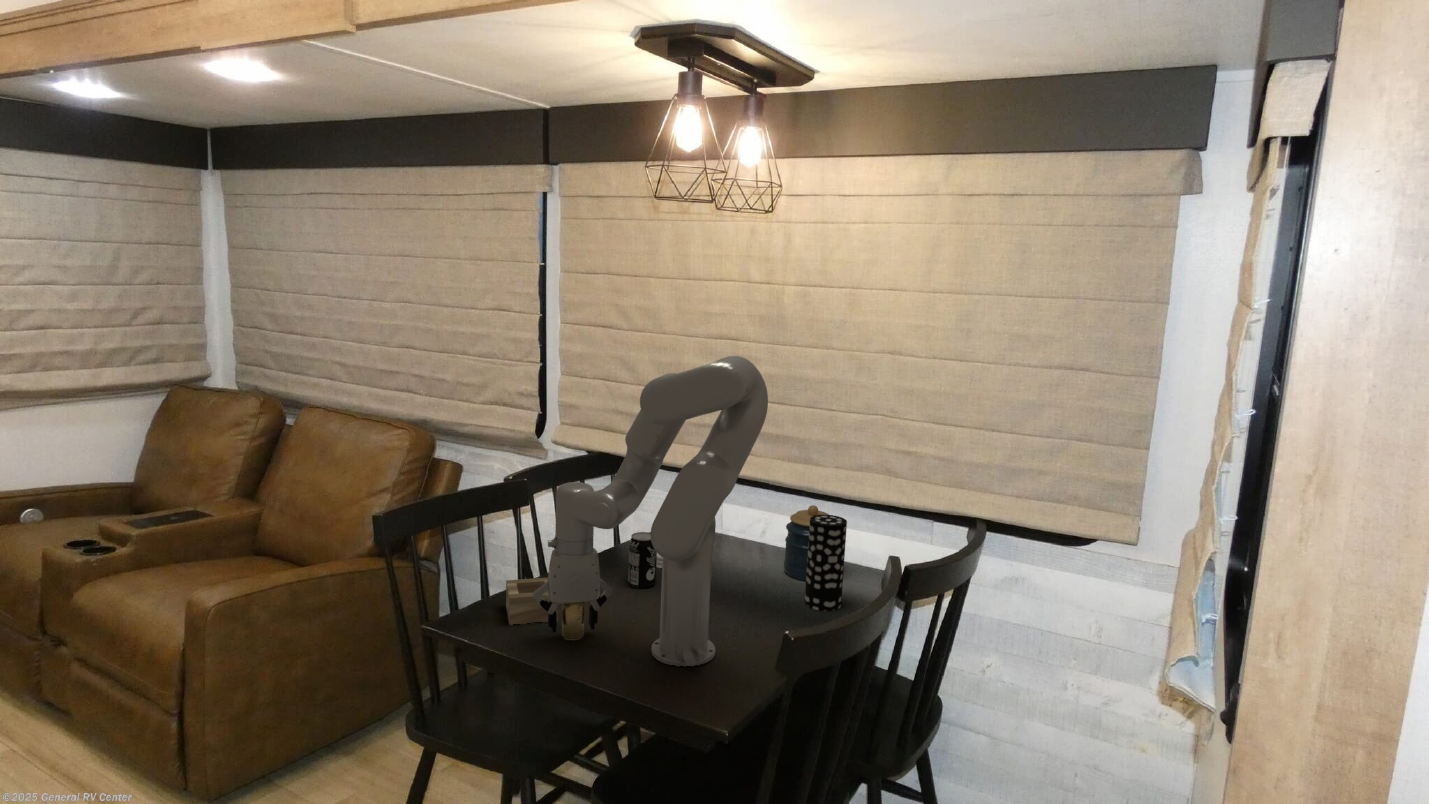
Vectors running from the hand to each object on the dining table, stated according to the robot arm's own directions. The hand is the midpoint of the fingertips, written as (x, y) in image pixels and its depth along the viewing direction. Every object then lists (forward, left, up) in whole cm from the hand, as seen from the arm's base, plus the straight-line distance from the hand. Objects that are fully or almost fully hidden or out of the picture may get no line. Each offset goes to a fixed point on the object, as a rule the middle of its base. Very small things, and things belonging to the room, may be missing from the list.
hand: (572, 627), depth 172 cm
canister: (+24, -63, -2) cm, 67 cm away
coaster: (+38, -30, -2) cm, 48 cm away
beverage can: (+25, -20, -2) cm, 32 cm away
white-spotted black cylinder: (+5, -58, -2) cm, 58 cm away
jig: (+13, +7, -2) cm, 15 cm away
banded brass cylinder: (0, 0, -2) cm, 2 cm away
